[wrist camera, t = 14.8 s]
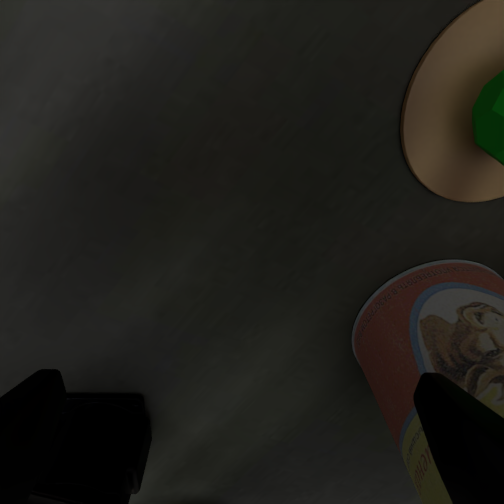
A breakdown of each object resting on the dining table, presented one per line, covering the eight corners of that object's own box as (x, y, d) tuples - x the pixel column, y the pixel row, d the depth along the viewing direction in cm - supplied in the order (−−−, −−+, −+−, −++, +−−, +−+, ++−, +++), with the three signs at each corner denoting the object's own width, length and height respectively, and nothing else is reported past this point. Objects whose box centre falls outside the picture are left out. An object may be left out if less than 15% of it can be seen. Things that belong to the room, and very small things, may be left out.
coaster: (379, 196, 19) (382, 198, 18) (434, -25, 14) (439, -28, 14) (542, 204, 19) (547, 206, 19) (643, -5, 15) (653, -8, 15)
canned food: (504, 232, 20) (809, 397, 9) (514, 354, 25) (723, 554, 14) (331, 297, 22) (424, 501, 11) (372, 400, 27) (464, 610, 16)
